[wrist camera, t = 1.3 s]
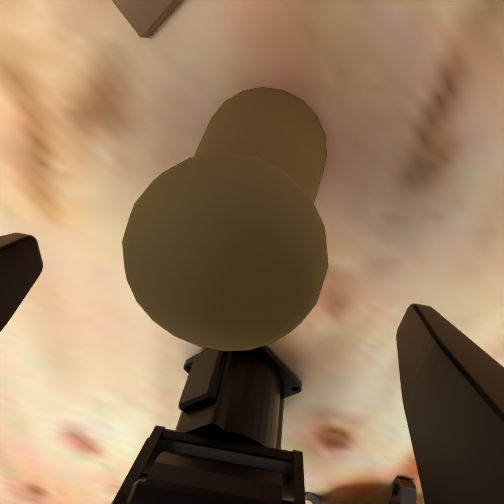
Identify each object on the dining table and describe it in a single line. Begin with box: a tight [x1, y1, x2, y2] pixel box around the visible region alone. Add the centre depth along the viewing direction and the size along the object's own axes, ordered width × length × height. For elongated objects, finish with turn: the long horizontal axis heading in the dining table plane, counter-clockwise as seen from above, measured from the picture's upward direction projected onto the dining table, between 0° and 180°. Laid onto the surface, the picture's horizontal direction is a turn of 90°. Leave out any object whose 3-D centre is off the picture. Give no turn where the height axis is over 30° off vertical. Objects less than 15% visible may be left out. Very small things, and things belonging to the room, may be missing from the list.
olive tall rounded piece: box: [122, 87, 328, 351], centre depth 12 cm, size 6×6×11 cm
